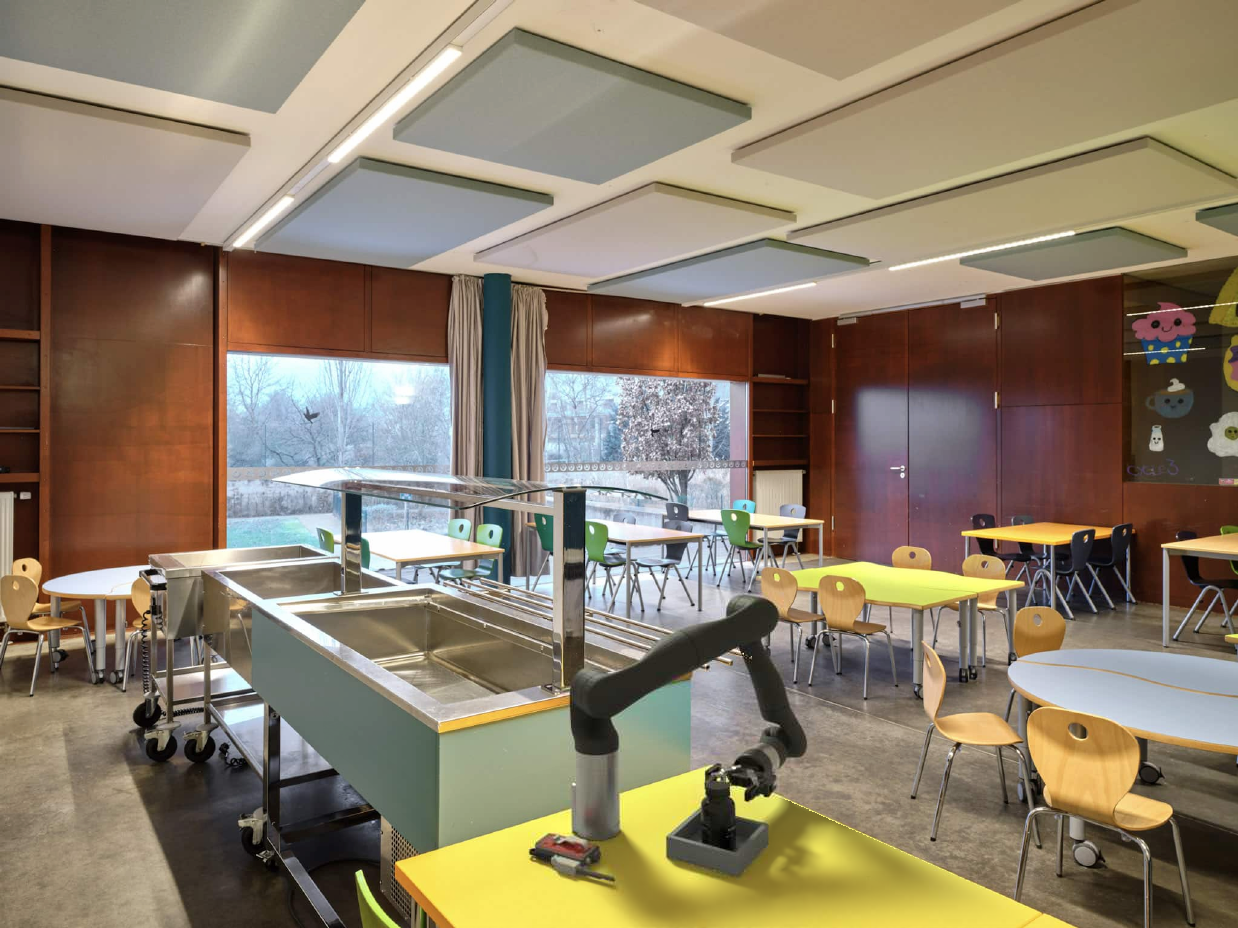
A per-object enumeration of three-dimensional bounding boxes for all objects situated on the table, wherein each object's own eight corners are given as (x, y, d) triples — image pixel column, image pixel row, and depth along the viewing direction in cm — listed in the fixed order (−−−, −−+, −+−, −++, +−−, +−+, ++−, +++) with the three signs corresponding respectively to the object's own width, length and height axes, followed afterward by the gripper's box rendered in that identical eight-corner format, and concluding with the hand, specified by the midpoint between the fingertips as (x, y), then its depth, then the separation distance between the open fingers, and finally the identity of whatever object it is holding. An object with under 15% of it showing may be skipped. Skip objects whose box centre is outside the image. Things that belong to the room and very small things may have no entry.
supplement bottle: (738, 854, 152) (736, 792, 152) (702, 855, 153) (701, 792, 153) (734, 838, 159) (732, 778, 159) (700, 838, 159) (698, 778, 159)
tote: (666, 857, 153) (666, 836, 153) (700, 826, 166) (700, 807, 166) (738, 877, 145) (738, 856, 145) (768, 843, 158) (768, 823, 158)
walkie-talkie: (521, 863, 152) (611, 890, 142) (521, 840, 152) (611, 866, 142) (547, 844, 160) (635, 868, 150) (547, 822, 160) (634, 845, 150)
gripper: (726, 742, 176) (694, 766, 163) (788, 754, 169) (759, 780, 155) (727, 776, 176) (694, 803, 163) (788, 789, 169) (759, 819, 155)
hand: (726, 792), depth 159 cm, fingers open, 8 cm apart
